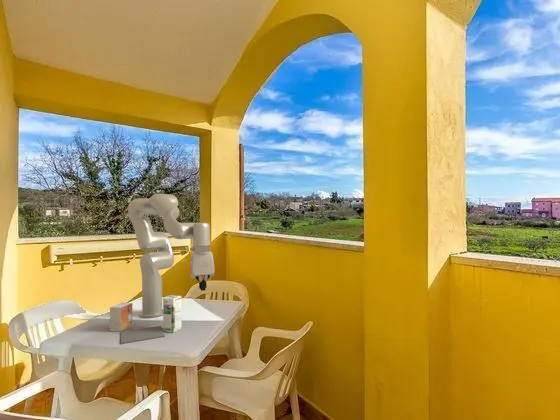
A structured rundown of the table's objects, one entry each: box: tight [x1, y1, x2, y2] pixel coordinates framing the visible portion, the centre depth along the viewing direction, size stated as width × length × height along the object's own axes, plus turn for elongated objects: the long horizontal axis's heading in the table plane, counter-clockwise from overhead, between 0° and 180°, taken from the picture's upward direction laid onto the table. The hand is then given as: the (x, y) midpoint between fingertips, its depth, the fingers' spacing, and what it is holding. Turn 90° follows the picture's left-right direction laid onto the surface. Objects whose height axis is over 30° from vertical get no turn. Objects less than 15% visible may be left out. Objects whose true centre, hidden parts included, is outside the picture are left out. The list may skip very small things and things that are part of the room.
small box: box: [109, 302, 133, 333], centre depth 142 cm, size 8×6×10 cm
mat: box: [120, 325, 165, 345], centre depth 134 cm, size 14×16×1 cm
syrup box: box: [162, 294, 182, 333], centre depth 140 cm, size 6×6×14 cm
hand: (202, 290), depth 145 cm, fingers closed
